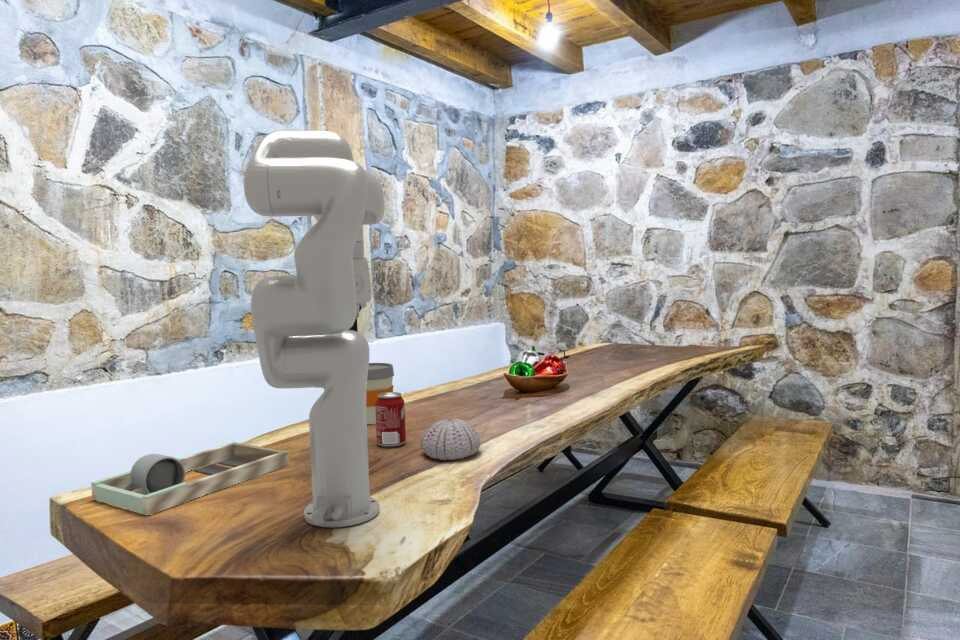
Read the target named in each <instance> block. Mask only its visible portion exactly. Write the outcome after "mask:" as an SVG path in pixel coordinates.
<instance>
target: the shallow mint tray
mask: <svg viewBox="0 0 960 640" xmlns="http://www.w3.org/2000/svg"><path fill="white" fill-rule="evenodd" d="M129 475H131V470H129V471H126V472H123V473H119V474H115V475H112V476H109V477H106V478H102V479H98V480H95V481H92V482H90V484H91V485H94V486H95V485H96V486H95V492H96V500H97V501H101V502H105V503H109V504H112V505H116V506H119V507H123V508H126V509H129V510H133V511H136V512H139V513H142V514H144V512H143V499H150V498H153V497H156V496H159V495H162V494H164V493H167V492H170V491H173V490H176V489H179V488H182V487H185V486H188V483H189V482H185V481H184V482H183V483H180V484H177V485H174V486H171V487H168V488H165V489H162V490H159V491H156V492H153V493H150V494H145V495H143V494H139V493H135V491H127V490H124V489H120V488H116V487H112V486H108V485H105V484H102V483H105V482H109V481H112V480H115V479H119V478H122V477H125V476H129Z"/></svg>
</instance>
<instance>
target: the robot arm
mask: <svg viewBox="0 0 960 640" xmlns="http://www.w3.org/2000/svg"><path fill="white" fill-rule="evenodd" d="M248 161H249V162H248V164H247V165H246V168H245V169H246V170H245V172H244V177H243V178H244V181H243V192H244V197H245V200H246V203H247V204H248V206H249V207H250V209H251V210H252V211H253V213H255V214H257V215H259V216H262V217H270V218H271V217H273V218H275V217H279V218H280V217H314V219H315V221H317V222H316V223H315V224H313V226H311V227H310V229H308V231H306V233H305V234H304V235H303V237H302V238H301V239H300V241H299V242H298V243H297V245H296V247H295V249H294V253H293V254H294V255H293V257H294V264H295V270H296V271H295V272H296V275H293V274H292V275H276V276H275V275H273V276H268V277H264V278H262V279H261V280H259V281H258V282H257V283H256V284H255V286H254V287H253V290H252V293H251V299H250V314H251V315H250V317H251V322H252V328H253V332H254V338H255V343H256V348H257V353H258V359H259V362H260V368H261V373H262V376H263V378H264V380H265V382H266V383H267V384H268V385H269V386H270V387H272V388H275V389H284V390H285V389H286V390H287V389H308V388H315V389H316V388H319V389H320V388H321V389H323V390H324V391H323V392H322V394H320V396H319V397H318V398H317V400H316V401H315V402H314V403H313V405H312V407H311V409H310V411H309V416H308V428H309V445H310V446H309V447H310V468H311V469H310V471H311V490H312V502H311V503H309V504H308V505H306V507H305V508H304V510H303V519H304V521H306V522H307V523H308V524H310V525H313V526H315V527H321V528H344V527H350V526H355V525H359V524H362V523H365V522H367V521H370V520H372V519H373V518H375V517H376V516H377V515H378V514H379V513H380V503H379V501H378V500H377V499H376V498H373V497H372V496H371V493H370V473H369V472H370V471H369V470H370V469H369V444H368V443H369V442H368V439H369V438H368V425H367V414H366V389H367V376H368V367H369V363H370V345H369V341H368V340H367V338H366V337H365V336H364V335H363V334H362V333H360V332H358V331H359V330H358V318H359V317H360V312H361V310H363V309H364V308H367V303H369V302H370V301H371V300H372V285H371V275H370V269H369V268H370V267H369V264H368V260H367V257H365V244H364V243H365V242H364V225H365V226H366V225H369V226H371V225H376V224H379V223H380V222H381V221H382V220H383V218H384V214H385V195H384V190H383V185H382V183H381V182H380V179H378V177H376V175H374V174H372V173H370V172H368V171H366V170H365V168H364V167H363V166H362V165H360V163H358V162H356V161H354V157H353V152H352V149H351V146H350V144H349V143H348V141H347V140H346V138H344V137H343V136H342V135H341V134H339V133H337V132H334V131H330V130H319V129H318V130H317V129H316V130H312V129H311V130H310V129H309V130H307V129H306V130H305V129H304V130H303V129H302V130H298V129H297V130H294V129H293V130H287V129H285V130H273V131H271V132H269V133H266V134H265V135H264V136H263V137H262V138H261V139H260V141H259V142H258V144H257V145H256V147H255V149H254V151H253V154H252V156H251V157H250V159H249V160H248Z"/></svg>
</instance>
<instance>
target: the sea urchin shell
mask: <svg viewBox="0 0 960 640" xmlns="http://www.w3.org/2000/svg"><path fill="white" fill-rule="evenodd" d="M480 437H481V436H480V435H479V433H478V432H477V430H476V429H475V428H474V427H473V425H472V424H469V422H467V421H465V420H462V419H458V418H446V419H441V420H439V421H436V422H434V423H433V424H432V425H430V427H428V429H427V430H426V432H424V434H423V435H422V437H421V440H420V446H421V448H420V449H421V450H422V451H423V452H424V454H426V456H427V457H428V456H429V458H432V459H435V460H440V461H447V460H449V461H456V460H462V459H465V458H468V457H470V456H472V455H474V454H475V453H476V452H478V450H479V449H480V447H481V443H482V442H481V441H482V440H481V439H480Z"/></svg>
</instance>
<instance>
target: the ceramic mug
mask: <svg viewBox="0 0 960 640" xmlns="http://www.w3.org/2000/svg"><path fill="white" fill-rule="evenodd" d="M178 459H179V458H177V457H174V456H171V455H164V454H160V453H150V454H146V455H143V456H141V457H140V458H139V459H137V460H136V461H135V462H134V464H133V465H132V466H131V469H130V471H131V482H130V483H129V484H127V485H126V486H125V487H123V488H122V489H124V490H127V491H131V492H133V489H134V490H135V491H134V492H135V493H139V494H143V495H147V494H150V493H153V492H156V491H159V490H162V489H165V488H168V487H171V486H174V485H177V484H180V483H183V482H184V483H185V479H186V473H185V469H184V466H183V464H182V463H181V462H180V461H179V460H178ZM135 488H137V489H135Z"/></svg>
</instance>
